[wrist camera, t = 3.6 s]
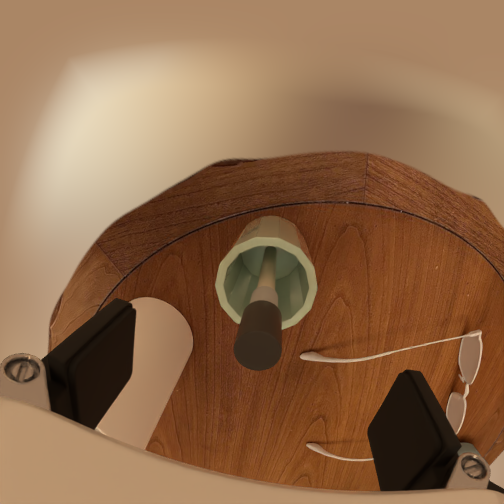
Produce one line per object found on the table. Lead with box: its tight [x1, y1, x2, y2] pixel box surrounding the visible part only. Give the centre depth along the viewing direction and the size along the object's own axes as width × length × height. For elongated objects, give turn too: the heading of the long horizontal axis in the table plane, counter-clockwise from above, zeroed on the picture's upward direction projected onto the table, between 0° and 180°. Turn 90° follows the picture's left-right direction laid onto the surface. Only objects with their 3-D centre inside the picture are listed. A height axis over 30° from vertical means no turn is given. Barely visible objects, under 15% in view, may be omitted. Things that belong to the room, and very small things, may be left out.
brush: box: [234, 246, 282, 371], centre depth 19 cm, size 2×2×15 cm
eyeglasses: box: [300, 330, 482, 461], centre depth 28 cm, size 15×18×4 cm
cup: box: [95, 297, 193, 450], centre depth 22 cm, size 8×8×16 cm
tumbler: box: [215, 216, 318, 330], centre depth 23 cm, size 6×6×9 cm
